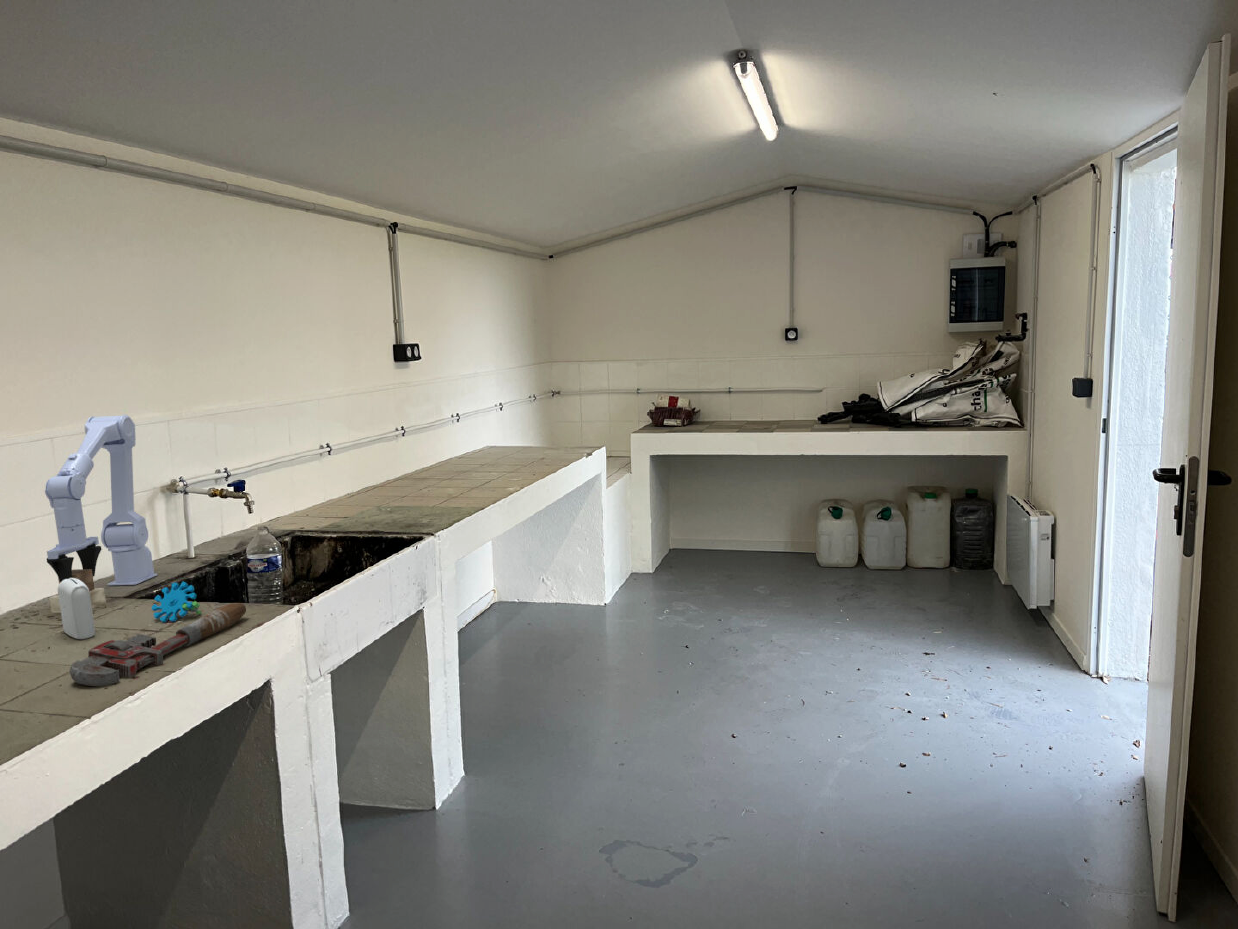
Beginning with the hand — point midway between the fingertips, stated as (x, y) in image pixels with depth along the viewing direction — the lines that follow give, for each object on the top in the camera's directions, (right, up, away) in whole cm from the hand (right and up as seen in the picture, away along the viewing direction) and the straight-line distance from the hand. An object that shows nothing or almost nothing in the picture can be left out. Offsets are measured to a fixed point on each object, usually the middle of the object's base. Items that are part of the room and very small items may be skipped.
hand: (78, 581), depth 216 cm
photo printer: (+13, -9, -21) cm, 26 cm away
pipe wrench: (+38, -10, -34) cm, 51 cm away
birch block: (0, -7, 0) cm, 7 cm away
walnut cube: (0, -3, 0) cm, 3 cm away
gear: (+30, -7, -12) cm, 33 cm away
